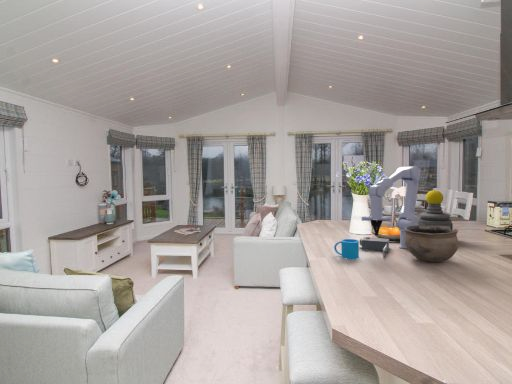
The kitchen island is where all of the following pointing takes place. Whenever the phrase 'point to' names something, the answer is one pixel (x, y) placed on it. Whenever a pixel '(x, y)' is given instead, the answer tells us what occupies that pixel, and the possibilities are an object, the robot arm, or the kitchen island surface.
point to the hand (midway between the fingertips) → (376, 234)
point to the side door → (385, 250)
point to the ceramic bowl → (431, 242)
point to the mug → (349, 248)
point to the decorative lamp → (435, 212)
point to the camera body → (374, 243)
